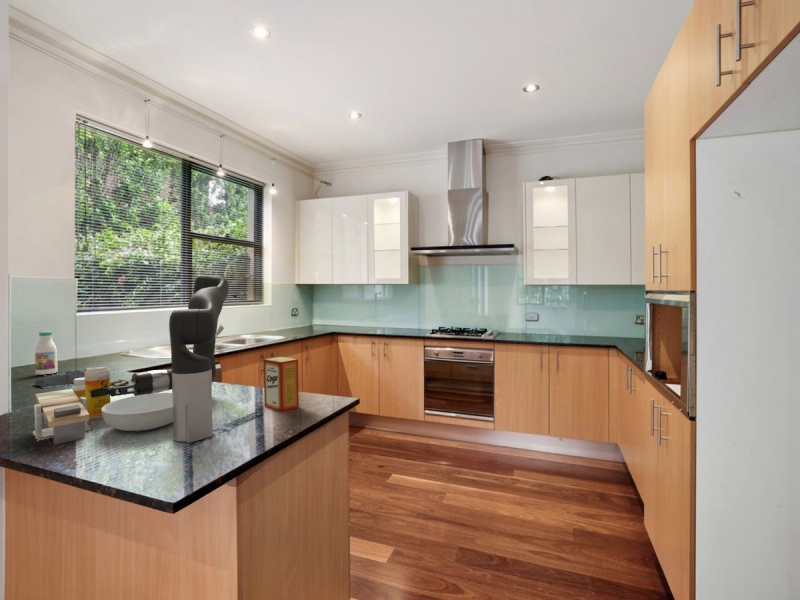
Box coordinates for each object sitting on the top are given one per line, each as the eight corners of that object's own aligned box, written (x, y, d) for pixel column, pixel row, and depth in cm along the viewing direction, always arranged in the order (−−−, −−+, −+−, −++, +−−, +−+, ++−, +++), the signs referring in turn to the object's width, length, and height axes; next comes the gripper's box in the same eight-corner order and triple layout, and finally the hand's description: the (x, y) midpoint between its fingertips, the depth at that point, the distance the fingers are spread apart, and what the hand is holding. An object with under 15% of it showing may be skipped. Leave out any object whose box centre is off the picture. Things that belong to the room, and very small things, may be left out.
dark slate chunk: (30, 385, 169) (30, 374, 169) (94, 376, 187) (93, 366, 187) (41, 390, 160) (40, 378, 160) (106, 380, 178) (106, 369, 178)
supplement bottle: (95, 407, 134) (94, 378, 134) (75, 411, 130) (74, 381, 130) (88, 404, 137) (87, 376, 137) (69, 408, 133) (68, 379, 133)
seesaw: (89, 420, 106) (89, 408, 106) (49, 428, 100) (49, 415, 100) (71, 394, 120) (71, 383, 120) (35, 399, 114) (35, 388, 114)
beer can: (97, 420, 120) (96, 370, 120) (80, 419, 121) (79, 369, 121) (115, 414, 126) (114, 366, 126) (99, 413, 127) (98, 365, 127)
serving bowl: (81, 437, 106) (80, 411, 106) (142, 413, 127) (142, 391, 127) (153, 441, 103) (153, 414, 103) (204, 415, 124) (203, 393, 124)
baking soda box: (264, 406, 133) (263, 358, 133) (281, 402, 138) (280, 355, 138) (281, 411, 127) (280, 361, 127) (298, 407, 132) (297, 358, 132)
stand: (96, 435, 107) (95, 403, 107) (41, 447, 99) (40, 413, 99) (83, 423, 117) (83, 394, 117) (32, 434, 109) (31, 403, 109)
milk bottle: (41, 373, 193) (40, 331, 192) (60, 372, 195) (59, 330, 194) (32, 376, 185) (30, 332, 185) (52, 375, 188) (51, 332, 187)
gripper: (143, 368, 139) (81, 376, 126) (158, 373, 129) (93, 383, 117) (143, 390, 139) (82, 400, 127) (158, 397, 130) (94, 409, 117)
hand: (88, 392), depth 122 cm, fingers closed on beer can, 6 cm apart
